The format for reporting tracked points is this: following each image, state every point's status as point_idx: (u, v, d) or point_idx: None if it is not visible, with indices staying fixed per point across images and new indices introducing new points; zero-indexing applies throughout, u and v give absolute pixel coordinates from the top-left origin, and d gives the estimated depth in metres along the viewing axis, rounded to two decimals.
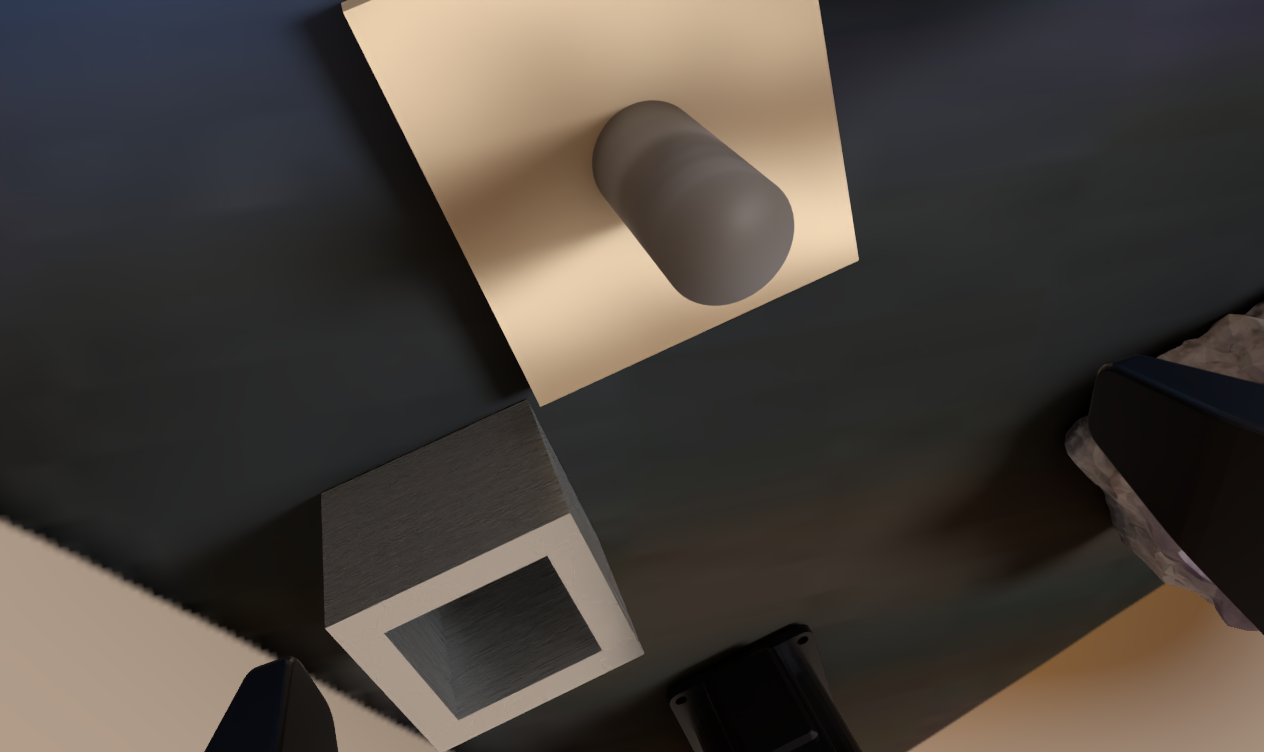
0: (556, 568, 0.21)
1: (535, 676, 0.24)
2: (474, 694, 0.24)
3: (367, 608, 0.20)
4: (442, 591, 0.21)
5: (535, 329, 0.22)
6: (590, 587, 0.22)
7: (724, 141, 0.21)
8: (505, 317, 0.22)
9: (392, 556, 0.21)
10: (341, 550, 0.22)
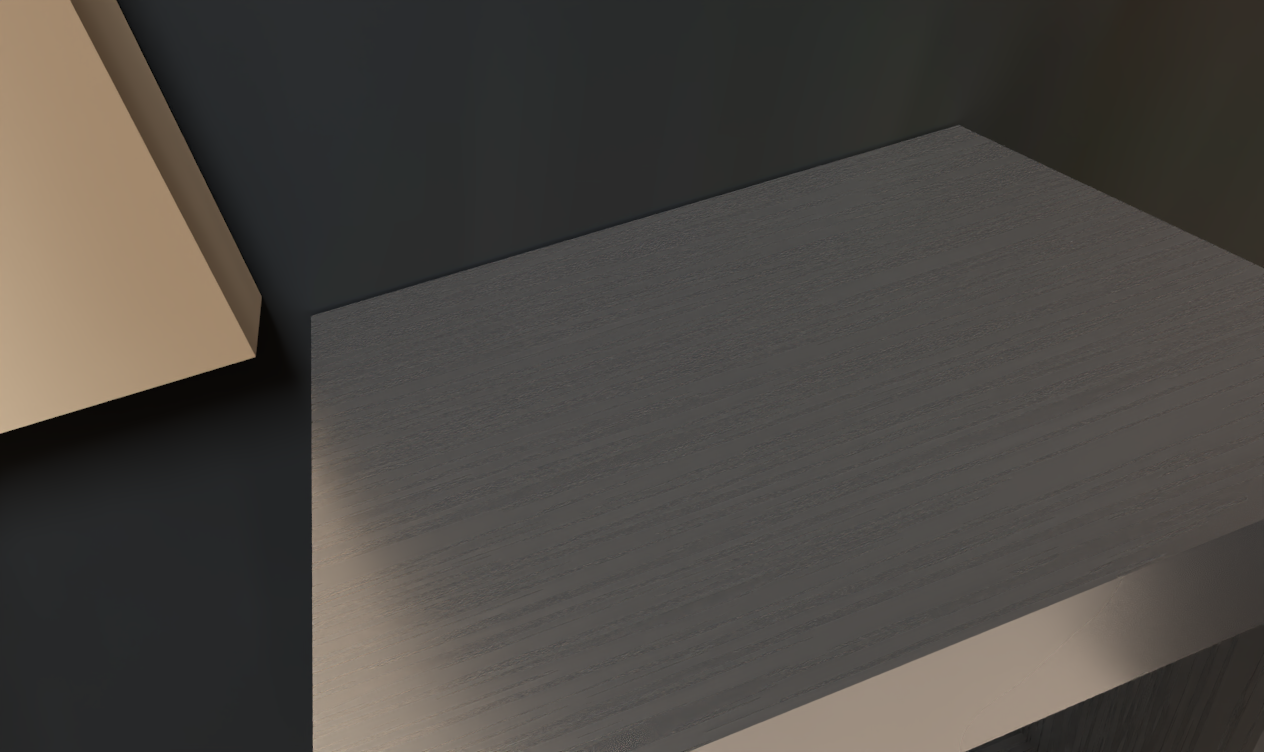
0: None
1: None
2: None
3: None
4: None
5: None
6: (927, 708, 0.04)
7: None
8: None
9: None
10: None
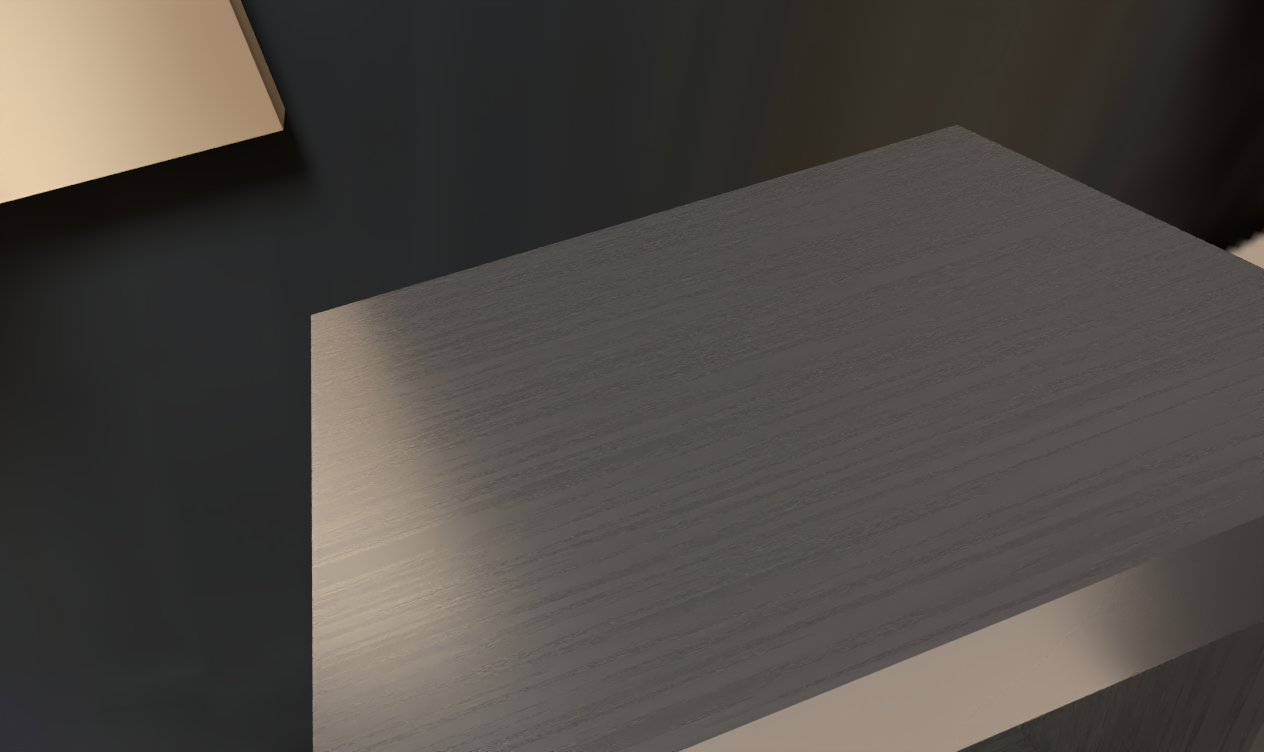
0: None
1: (1213, 750, 0.06)
2: None
3: None
4: None
5: (54, 118, 0.10)
6: (921, 705, 0.04)
7: None
8: (18, 179, 0.10)
9: None
10: None
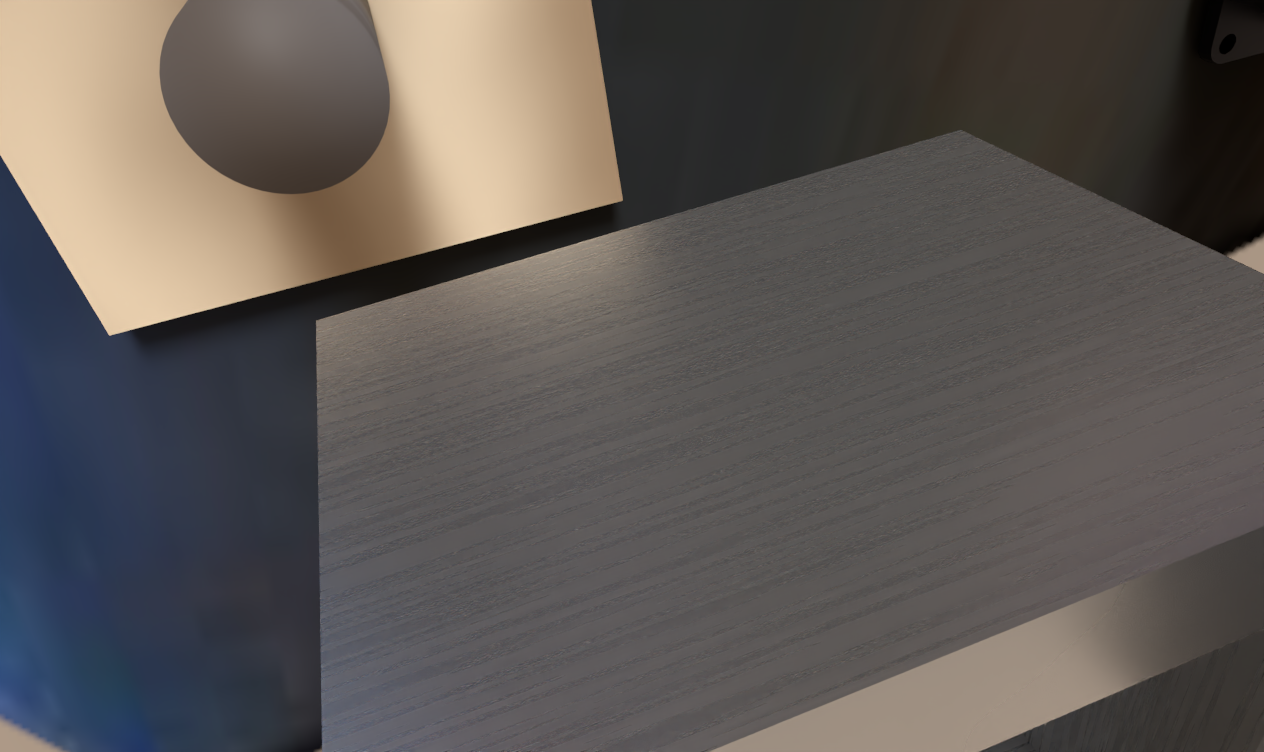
0: None
1: None
2: None
3: None
4: None
5: (512, 194, 0.18)
6: (929, 714, 0.04)
7: None
8: (486, 227, 0.18)
9: None
10: None
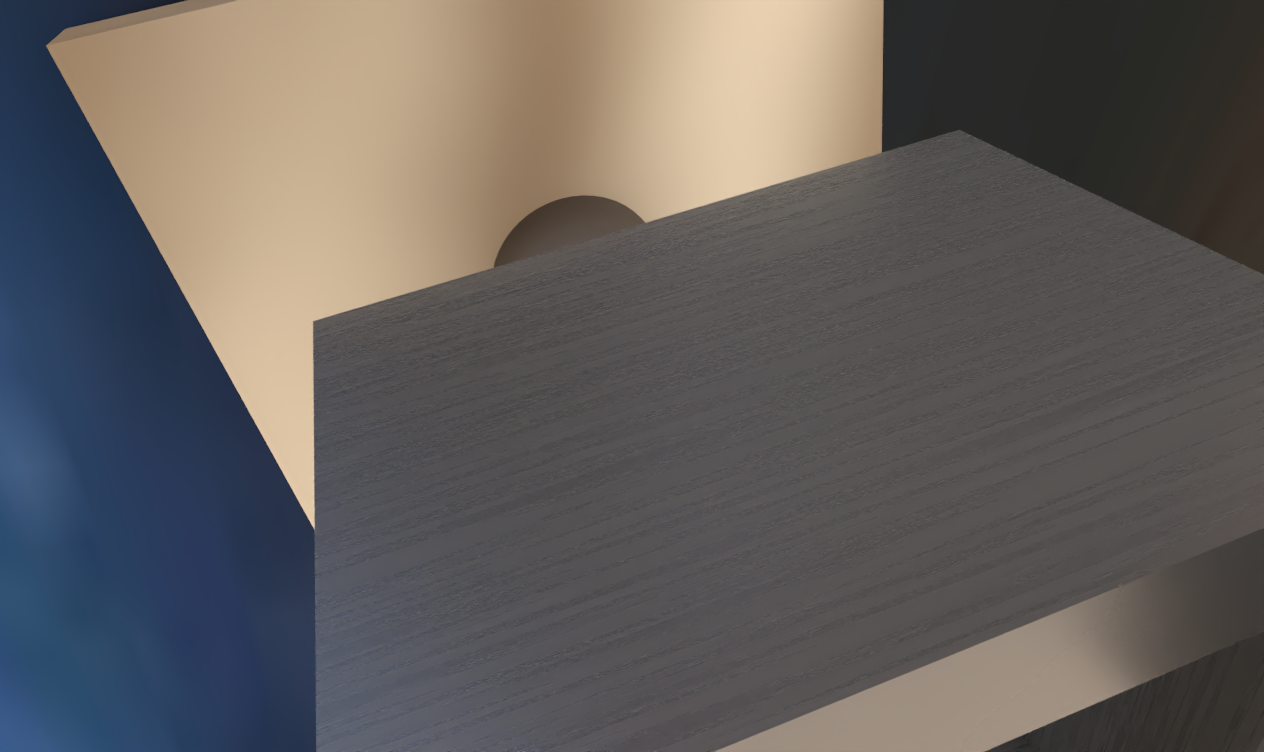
0: None
1: None
2: None
3: None
4: None
5: None
6: (926, 716, 0.04)
7: (577, 156, 0.13)
8: None
9: None
10: None
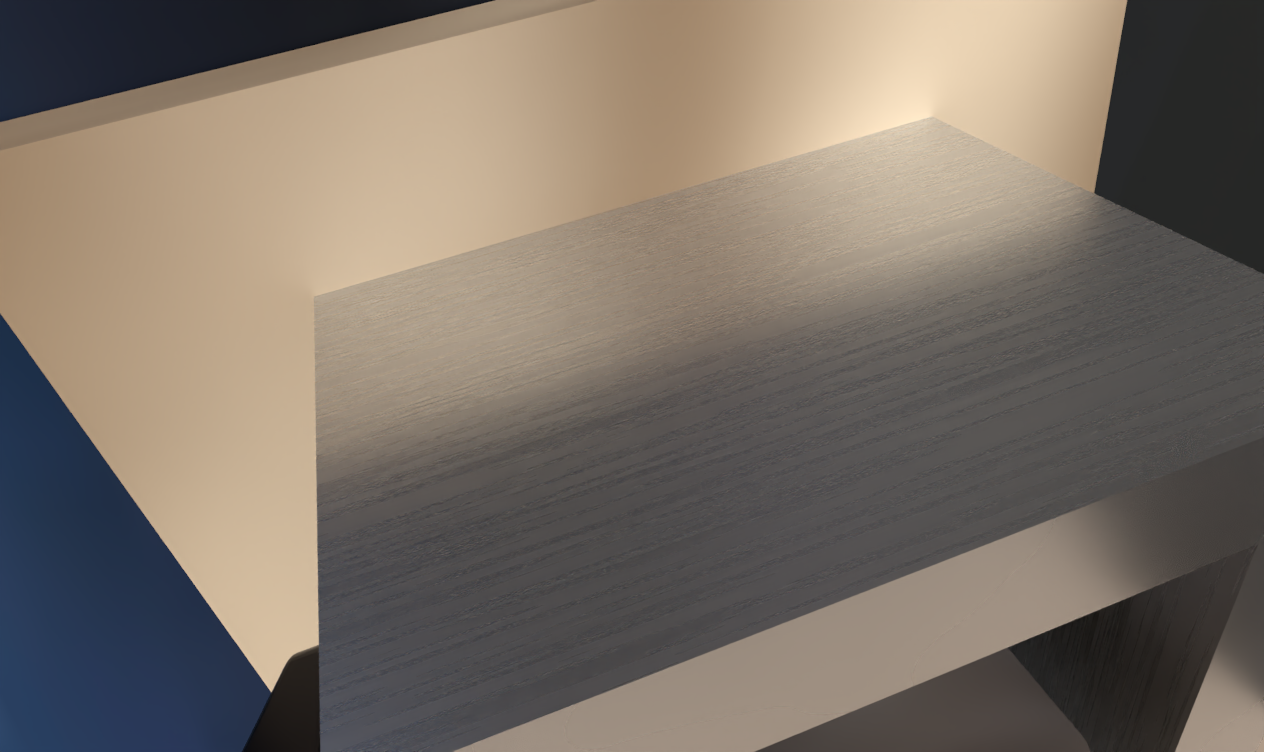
0: None
1: (1164, 702, 0.07)
2: None
3: None
4: None
5: None
6: (877, 638, 0.04)
7: None
8: None
9: None
10: None
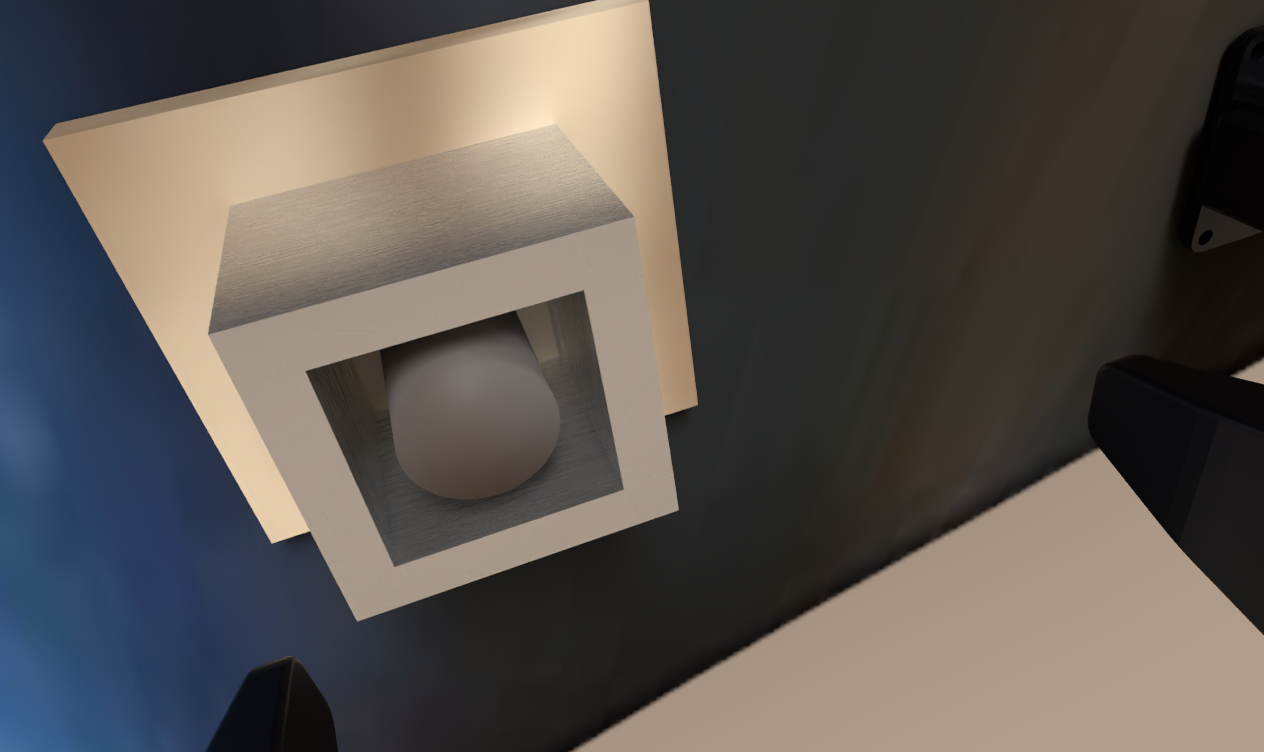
0: (341, 358, 0.13)
1: (601, 383, 0.15)
2: (610, 449, 0.16)
3: (337, 582, 0.15)
4: (337, 504, 0.14)
5: None
6: (410, 305, 0.13)
7: None
8: None
9: None
10: None
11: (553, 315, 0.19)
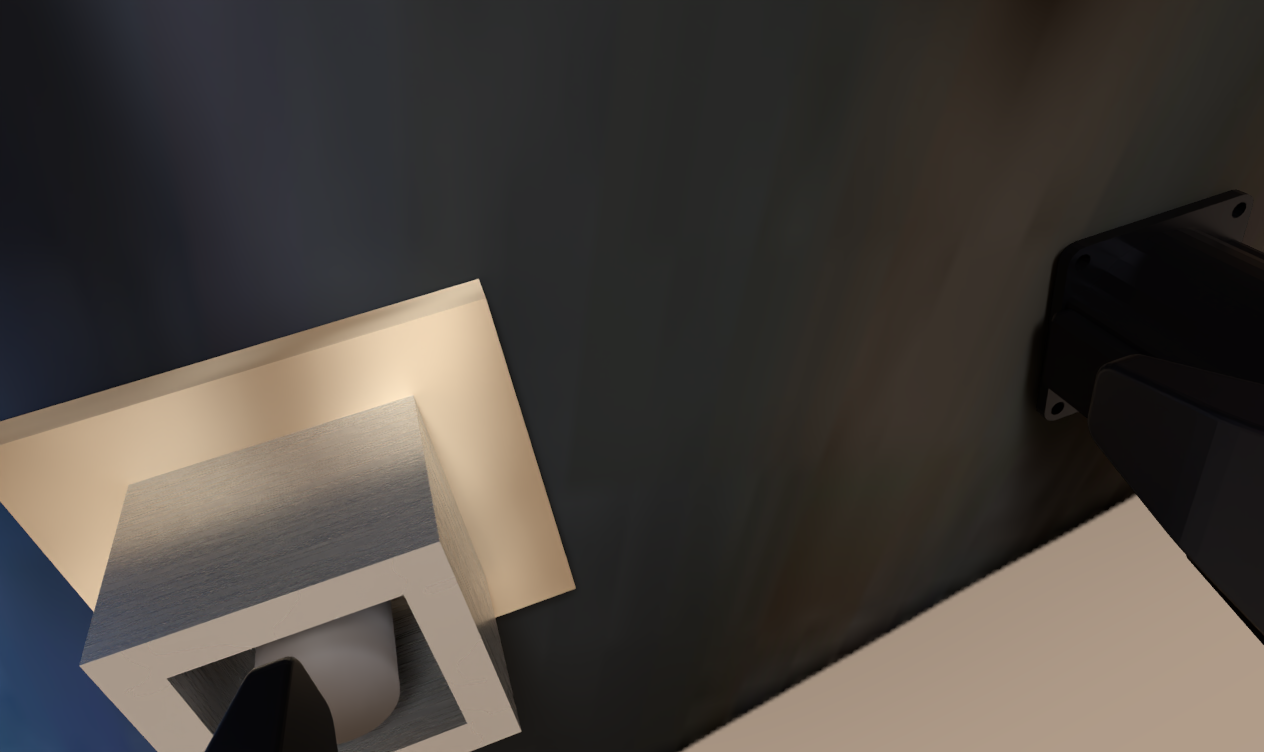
0: (196, 666, 0.15)
1: None
2: None
3: None
4: None
5: None
6: (251, 624, 0.15)
7: None
8: None
9: None
10: None
11: None
